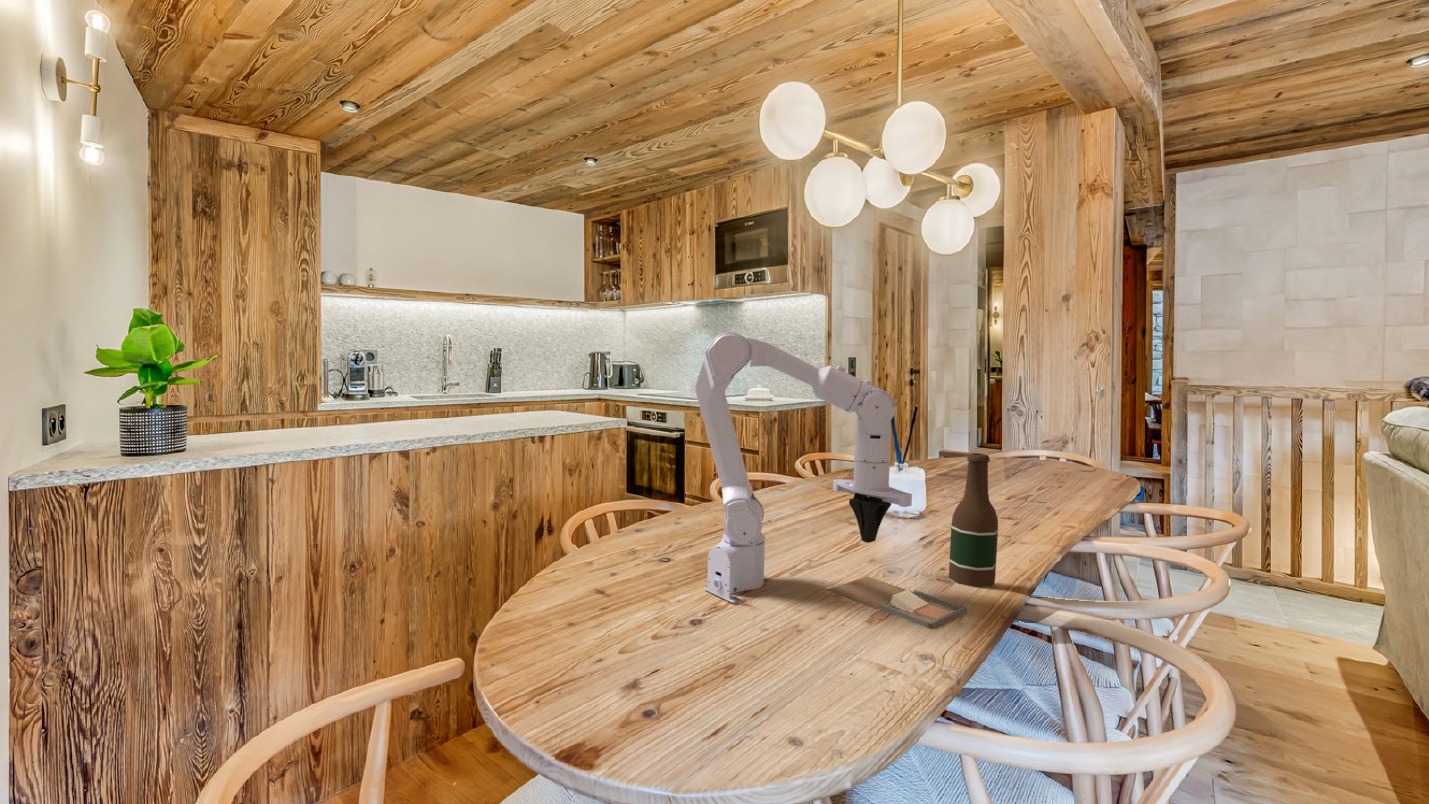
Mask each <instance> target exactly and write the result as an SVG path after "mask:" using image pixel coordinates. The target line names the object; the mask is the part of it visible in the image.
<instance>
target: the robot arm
mask: <svg viewBox="0 0 1429 804" xmlns="http://www.w3.org/2000/svg"><path fill="white" fill-rule="evenodd" d="M749 362H750V364H749ZM748 364H749V367H750V368H751V367H770V368H772V369H774V370H776V371H778V372H781V373H784V374H785V375H787V376H790V377H792V378H793V379H796V380H799V381H800V382H803V383H805V384H807V385H810V386H811V387H812V391H813V394H814V396H815V397H817V399H820V400H822V401H825V402H827V403H828V404H830V405H833V406H835V407H837V408H838V409H841V410H843V411H845V412H847V413H854V412H855V414H856V415H857V419H856V420H857V421H856V422H857V423H856V431H855V435H854V436H855V438H854V462H853V480H849V479H845V478H837V479H833V481H832V491H833V492H842V493H846V494H850V495H854V496H853V497H851V498H850V499H848V504H849V506H850V507H851V510H852V511H853V514H854V516H855V517H856V522H857V525H858V529H859V530H858V531H859V533H860V538H861V541H862V542H864V543H868V544H869V543H873V542H876V539H877V536H878V532H879V529H880V526H881V523H882V521H883V520H884V517H885V515H886V513H887V512H888V511H889V509H890V508H891V506H892V504H894V505H897V506H899V507H902V508H907V507H911V506H912V505H913V504H912V501H913V493H910V492H906V491H903V490H900V489H897V488H894V487H891V486H890V467H891V466H890V465H891V463H890V462H891V444H892V443H891V442H892V434H891V433H892V432H891V429H892V423H891V422H892V419H893V418H894V416H895V414H896V410H897V407H896V406H895V401H894V399H893V397H892V396H891V394H889V393H888V392H887V391H886V390H884V389H881V388H879V387H878V386H874V385H872V383H873V382H872V381H870V380H869V379H865V381H864V380H862V379H861V378H858V377H857V376H855V375H852V374H849V373H847V372H845V371H846V368H845V367H843V366H841V365H837V367H835V366H833V365H827V366H825V367H822V368H818V367H816V366H814V365H812V364H810V363H808V362H807V361H804V360H802V359H801V358H799V357H797V356H794V355H793V354H791V353H788V352H787V351H785V350H783V349H781V348H779V347H777V346H775V345H773V344H771V343H768V342H766V341H763V340H759V339H755V338H751V337H749V336H747V337H745V336H744V335H742V334H741V333H737V332H734V331H726V332H722V333H720V334H718V335H717V336H716V337H715V338H714V339H713V340H712V341H711V343H710V344H709V345H708V347H707V348H706V350H705V351H704V355H703V360H702V364H701V366H700V368H699V369H700V370H699V372H698V375H697V379H696V382H695V385H694V386H695V387H694V390H695V395H696V399H697V401H698V406H699V409H700V414H701V417H702V420H703V424H704V428H705V431H706V434H707V439H708V443H709V445H710V449H711V453H712V457H713V460H714V464H715V468H716V472H717V475H718V479H719V484H720V487H721V491H722V493H721V494H722V504H723V508H724V513H725V514H724V519H723V531H724V533H723V535H722V539H721V540H720V542H719V543H717V544H716V545H713V546H711V548H710V549H709V552H708V555H707V573H706V574H707V578H706V579H707V580H706V585H705V586H704V587H703V589H704V591H706V592H708V593H711V594H712V595H715V596H716V597H719V598H721V599H723V600H725V601H727V602H730V603H732V604H737V603H740V602H743V601H744V600H742V598H741V599H740V598H738V597H736V596H735V595H732V594H736V593H739V592H743V591H749V590H756V589H759V588H760V587H761V588H762V586H763V585H764V583H765V575H764V574H765V552H766V551H765V550H766V536H765V534H763V533H762V529H763V520H764V517H765V510H764V507H763V503H761V501H760V500H759V499H758V498H757V496H756V495H755V492H754V490H753V486H752V484H751V482H750V480H749V476H748V473H747V470H746V466H745V461H744V458H743V455H742V451H741V448H740V443H739V440H738V437H737V432H736V429H735V425H734V421H733V418H732V417H733V416H732V415H731V414H732V413H731V410H730V406H729V403H728V399H727V396H726V390H727V389H728V387H729V385H730V384H731V383H732V381H733V379H734V377H735V376H736V375H737V374H738V373H739V372H740V371H741V370H743V368H745V367H746V366H747V365H748ZM871 385H872V386H871Z"/></svg>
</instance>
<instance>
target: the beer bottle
mask: <svg viewBox="0 0 1429 804" xmlns="http://www.w3.org/2000/svg"><path fill="white" fill-rule="evenodd" d="M966 461H968V462H967V463H968V465H967V470H966V471H967V472H966V478H965V479H966V482H965V488H964V489H965V490H964V493H963V498H962V500H961V501H960V502H959V503H958V505H957V506H956V507H955V509H954V512H953V514H952V518H951V519H952V520H951V524H950V525H951V527H950V544H949V545H950V546H949V563H948V564H949V565H948V566H949V567H948V568H949V569H948V578H949V579H950V580H952V581H953V582H955V583H956V584H958V585H962V586H963V585H964V586H968V587H972V588H987V587H988V588H990V587H992V586H995V581H996V573H997V572H996V570H997V569H996V568H997V554H998V553H997V552H998V539H999V538H998V535H999V519H998V515H997V513H996V512H997V511H996V509H995V508H994V505H993V504H992V503H991V501H990V497H989V496H990V495H989V462H991V459H990V455H988V454H985V453H979V452H976V453H975V452H971V453H969V454H968V455H967V457H966Z"/></svg>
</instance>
